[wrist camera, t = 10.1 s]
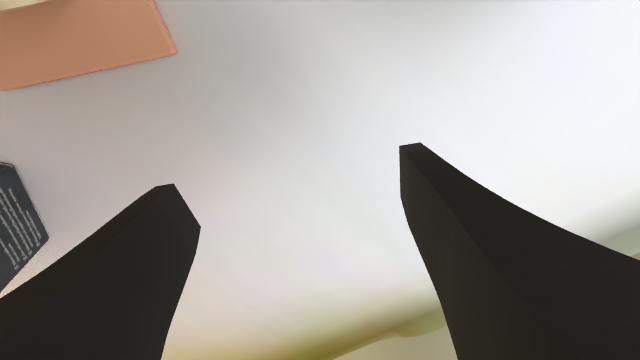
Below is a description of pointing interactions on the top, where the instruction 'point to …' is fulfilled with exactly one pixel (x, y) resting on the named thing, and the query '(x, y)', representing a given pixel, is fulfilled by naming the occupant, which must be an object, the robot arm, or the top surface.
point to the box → (16, 226)
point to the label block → (19, 4)
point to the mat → (78, 39)
